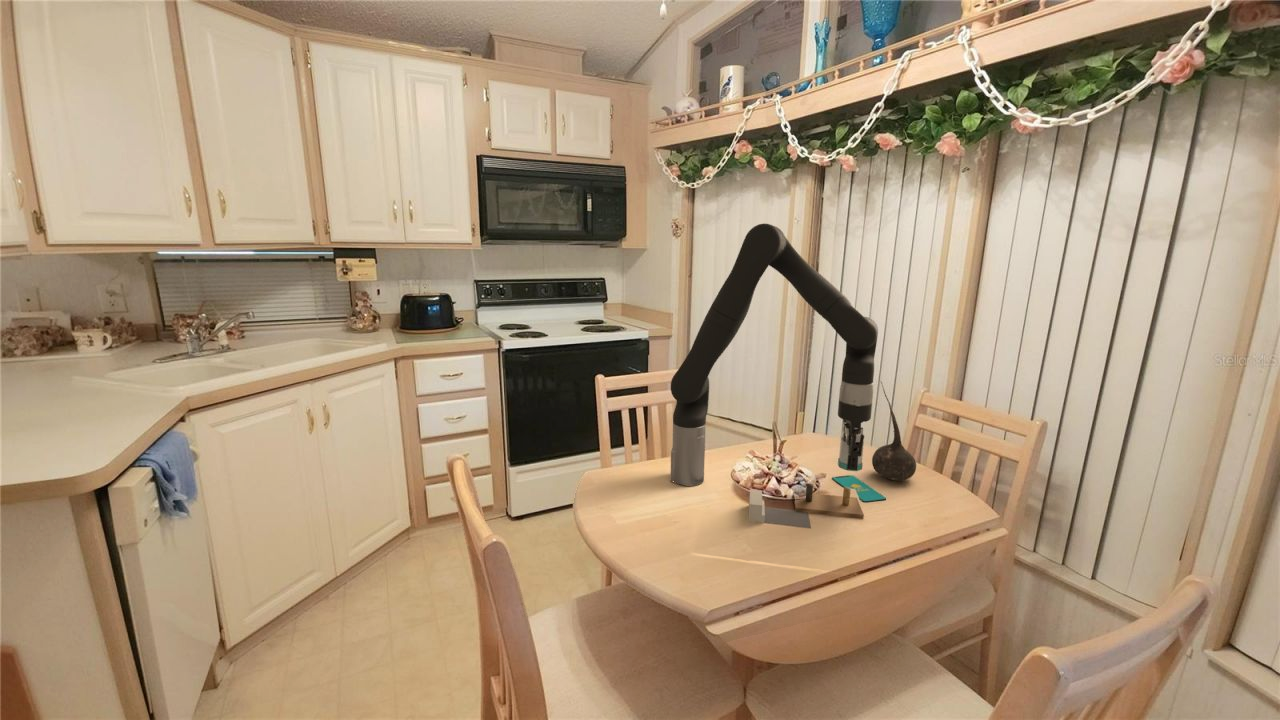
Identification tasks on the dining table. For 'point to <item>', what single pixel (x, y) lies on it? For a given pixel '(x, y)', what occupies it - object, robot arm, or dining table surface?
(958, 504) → the dining table surface
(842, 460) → the sleeve
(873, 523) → the dining table surface
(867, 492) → the smartphone
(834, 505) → the pin board
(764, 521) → the feeder mat
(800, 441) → the dining table surface
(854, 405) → the robot arm
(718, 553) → the dining table surface
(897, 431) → the radish
